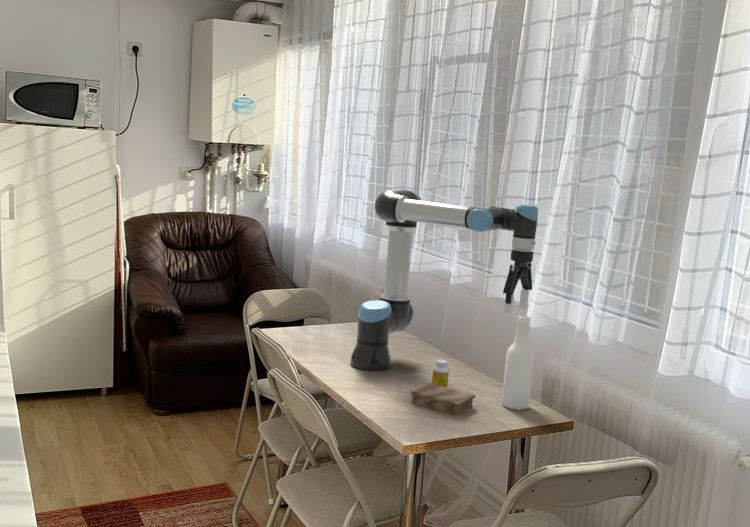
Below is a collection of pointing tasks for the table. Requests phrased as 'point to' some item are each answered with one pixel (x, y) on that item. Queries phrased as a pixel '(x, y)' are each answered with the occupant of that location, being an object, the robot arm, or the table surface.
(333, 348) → the table surface
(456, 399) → the stand
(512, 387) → the alcohol
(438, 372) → the supplement bottle
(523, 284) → the robot arm
